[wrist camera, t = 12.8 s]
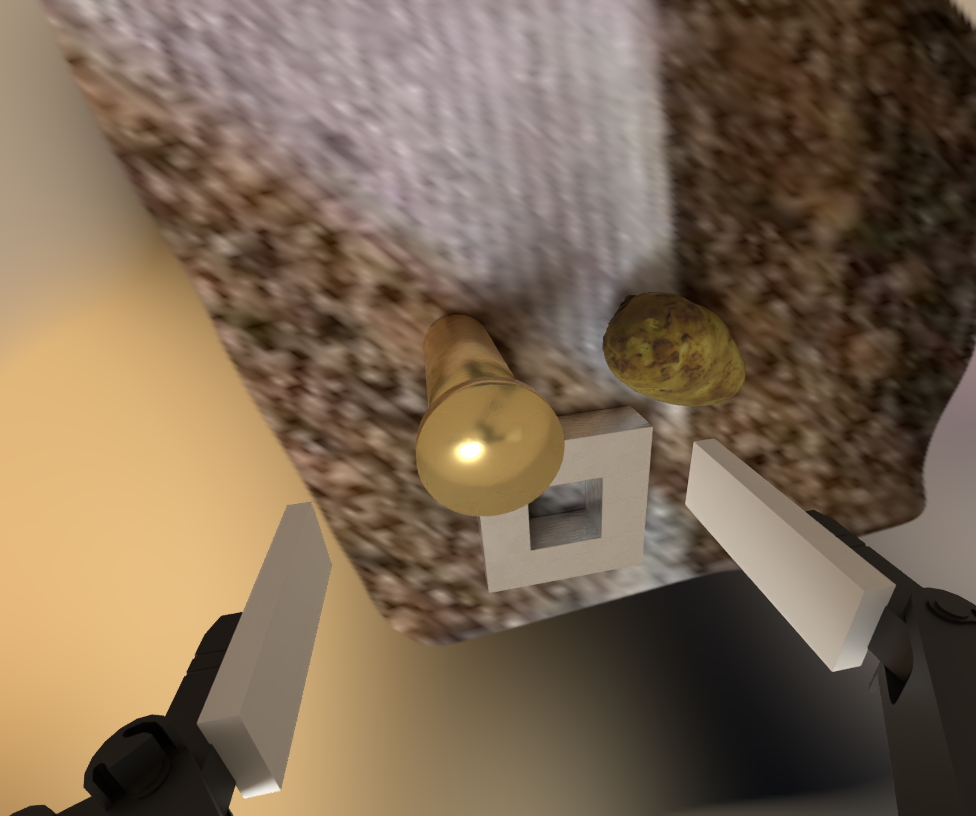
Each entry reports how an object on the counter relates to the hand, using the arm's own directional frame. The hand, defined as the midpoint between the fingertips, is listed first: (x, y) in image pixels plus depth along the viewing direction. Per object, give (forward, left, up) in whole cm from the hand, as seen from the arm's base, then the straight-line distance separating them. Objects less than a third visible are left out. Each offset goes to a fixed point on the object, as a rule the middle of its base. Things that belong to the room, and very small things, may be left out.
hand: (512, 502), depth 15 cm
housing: (+14, +7, -20) cm, 25 cm away
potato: (+2, +15, -20) cm, 25 cm away
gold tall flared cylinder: (0, 0, -20) cm, 20 cm away
